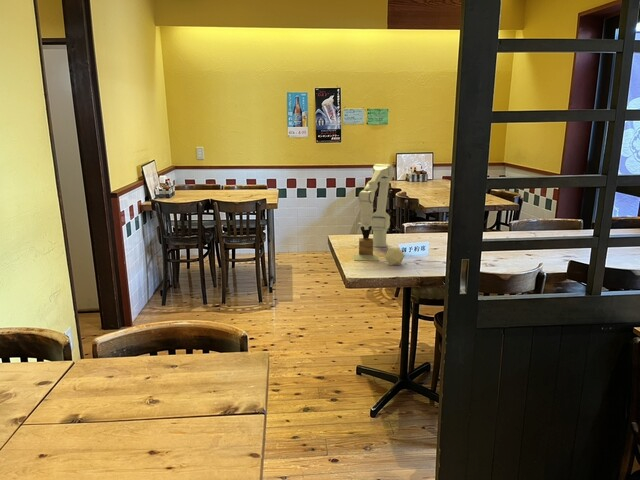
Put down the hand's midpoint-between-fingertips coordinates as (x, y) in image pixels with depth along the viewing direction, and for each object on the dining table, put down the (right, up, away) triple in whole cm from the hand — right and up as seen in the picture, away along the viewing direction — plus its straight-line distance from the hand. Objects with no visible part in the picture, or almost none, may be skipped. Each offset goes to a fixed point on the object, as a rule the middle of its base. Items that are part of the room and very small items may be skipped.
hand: (365, 240), depth 238 cm
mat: (0, -9, -7) cm, 11 cm away
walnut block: (0, -7, 0) cm, 7 cm away
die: (+12, -11, -17) cm, 24 cm away
